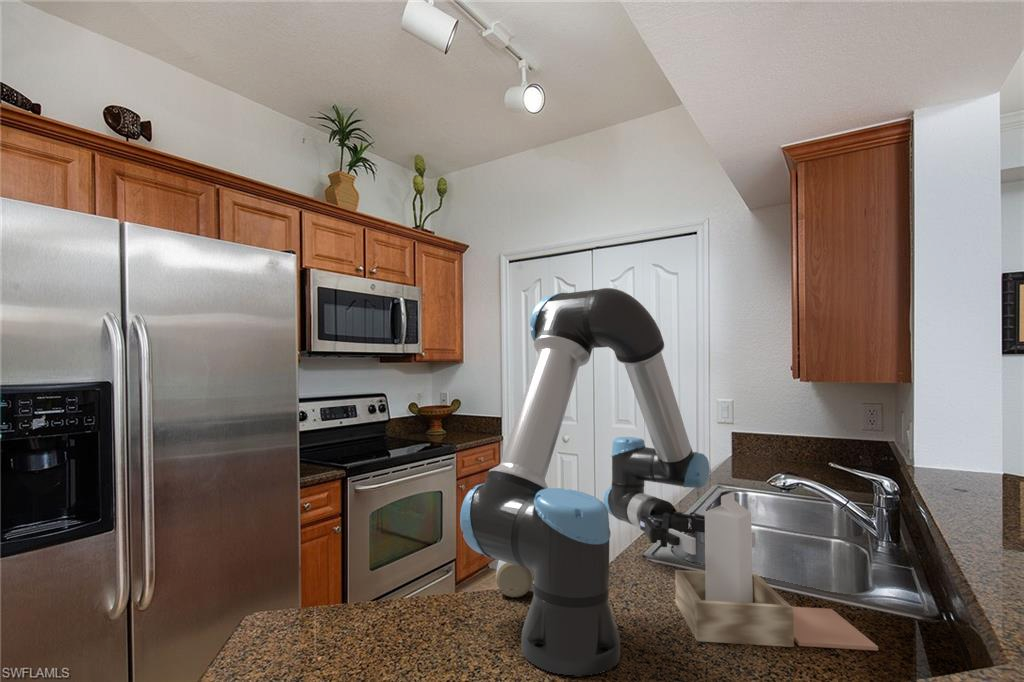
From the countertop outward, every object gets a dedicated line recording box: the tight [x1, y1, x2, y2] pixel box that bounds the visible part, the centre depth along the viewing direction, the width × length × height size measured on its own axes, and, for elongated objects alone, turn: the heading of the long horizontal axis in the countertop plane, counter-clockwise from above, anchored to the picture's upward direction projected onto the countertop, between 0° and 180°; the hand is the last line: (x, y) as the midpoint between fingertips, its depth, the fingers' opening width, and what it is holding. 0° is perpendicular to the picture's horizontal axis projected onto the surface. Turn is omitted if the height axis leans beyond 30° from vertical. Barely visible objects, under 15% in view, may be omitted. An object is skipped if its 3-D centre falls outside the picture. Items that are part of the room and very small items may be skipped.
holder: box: [674, 569, 795, 648], centre depth 91 cm, size 15×15×6 cm
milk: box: [704, 491, 753, 603], centre depth 91 cm, size 6×6×22 cm
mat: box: [792, 606, 879, 651], centre depth 89 cm, size 12×14×1 cm
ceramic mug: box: [495, 560, 534, 598], centre depth 103 cm, size 11×8×8 cm
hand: (724, 543), depth 93 cm, fingers open, 13 cm apart
